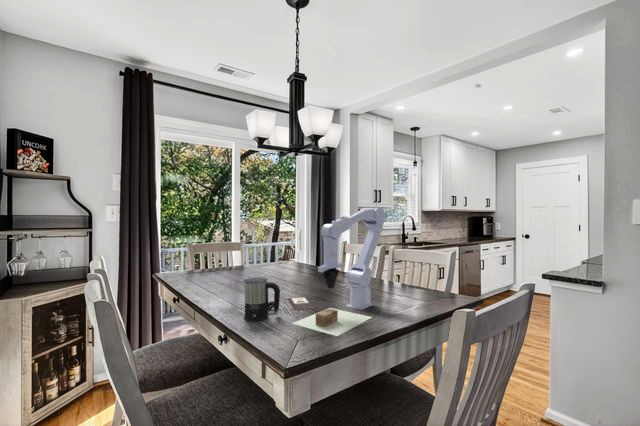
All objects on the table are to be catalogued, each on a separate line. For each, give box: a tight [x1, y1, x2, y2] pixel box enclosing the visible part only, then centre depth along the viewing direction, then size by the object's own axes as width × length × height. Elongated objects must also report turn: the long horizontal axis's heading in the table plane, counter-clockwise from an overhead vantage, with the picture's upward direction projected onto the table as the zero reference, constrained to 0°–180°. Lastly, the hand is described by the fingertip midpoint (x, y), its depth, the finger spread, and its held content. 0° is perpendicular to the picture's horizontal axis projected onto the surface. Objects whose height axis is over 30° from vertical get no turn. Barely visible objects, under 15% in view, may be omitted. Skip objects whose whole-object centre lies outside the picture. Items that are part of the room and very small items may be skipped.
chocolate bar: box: [288, 296, 317, 311], centre depth 144 cm, size 9×1×18 cm
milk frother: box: [243, 276, 281, 322], centre depth 130 cm, size 14×16×15 cm
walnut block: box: [315, 308, 339, 327], centre depth 119 cm, size 4×4×8 cm
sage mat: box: [291, 307, 373, 337], centre depth 122 cm, size 24×20×1 cm
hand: (330, 287), depth 131 cm, fingers closed
